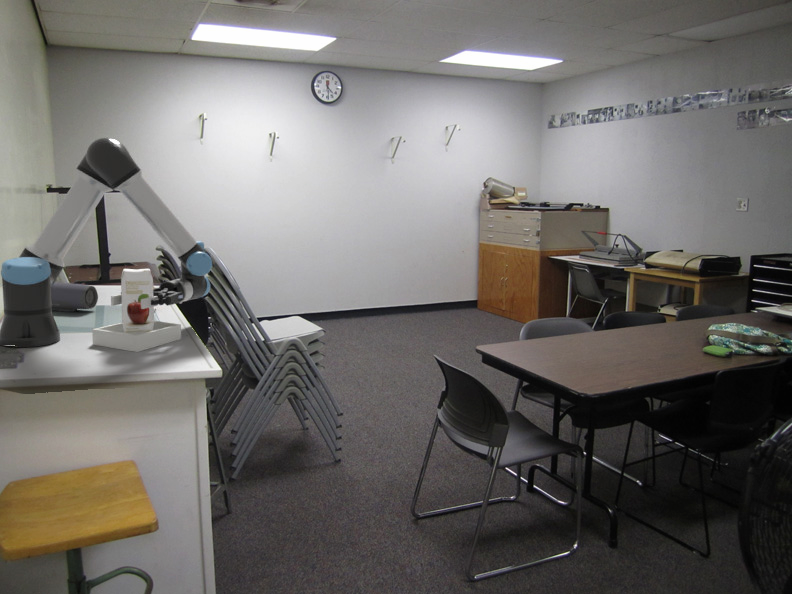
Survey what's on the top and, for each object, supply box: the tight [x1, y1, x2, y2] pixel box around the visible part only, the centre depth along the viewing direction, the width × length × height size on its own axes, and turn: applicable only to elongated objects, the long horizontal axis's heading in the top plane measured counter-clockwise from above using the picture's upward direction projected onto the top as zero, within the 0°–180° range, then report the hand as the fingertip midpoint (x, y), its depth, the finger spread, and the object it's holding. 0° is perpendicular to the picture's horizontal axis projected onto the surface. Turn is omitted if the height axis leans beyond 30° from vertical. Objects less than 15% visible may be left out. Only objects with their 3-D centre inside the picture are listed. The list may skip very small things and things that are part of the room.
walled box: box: [91, 320, 182, 353], centre depth 177 cm, size 18×16×4 cm
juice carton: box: [120, 268, 155, 335], centre depth 175 cm, size 8×9×19 cm
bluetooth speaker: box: [51, 281, 99, 312], centre depth 215 cm, size 23×9×10 cm, turn 84°
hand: (127, 302), depth 171 cm, fingers closed on juice carton, 9 cm apart
